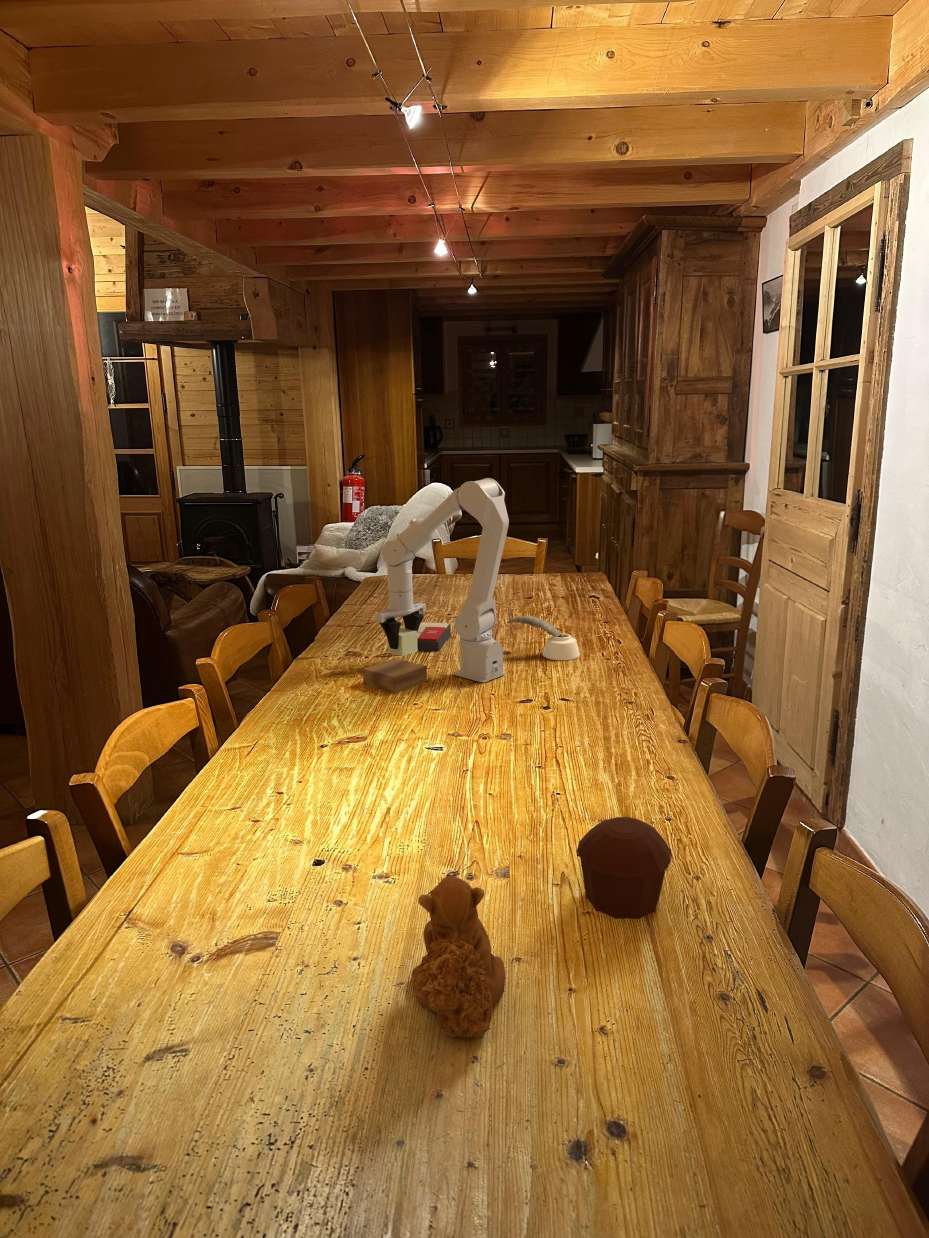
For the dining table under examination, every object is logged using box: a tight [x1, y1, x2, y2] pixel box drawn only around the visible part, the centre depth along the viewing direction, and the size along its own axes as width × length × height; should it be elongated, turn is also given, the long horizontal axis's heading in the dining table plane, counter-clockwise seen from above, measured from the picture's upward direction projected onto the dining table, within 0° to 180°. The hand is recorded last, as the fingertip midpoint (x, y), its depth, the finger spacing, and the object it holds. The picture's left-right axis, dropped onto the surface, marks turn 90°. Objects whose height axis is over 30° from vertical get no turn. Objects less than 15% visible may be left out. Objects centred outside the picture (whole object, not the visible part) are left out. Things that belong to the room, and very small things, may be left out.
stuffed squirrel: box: [409, 875, 506, 1039], centre depth 83 cm, size 10×14×13 cm
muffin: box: [576, 816, 672, 920], centre depth 102 cm, size 12×11×10 cm
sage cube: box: [386, 627, 418, 657], centre depth 199 cm, size 5×5×5 cm
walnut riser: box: [362, 657, 428, 694], centre depth 186 cm, size 10×10×4 cm
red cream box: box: [417, 621, 452, 652], centre depth 218 cm, size 11×4×15 cm
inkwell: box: [506, 615, 581, 661], centre depth 204 cm, size 9×18×10 cm, turn 91°
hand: (402, 645), depth 199 cm, fingers closed on sage cube, 5 cm apart
